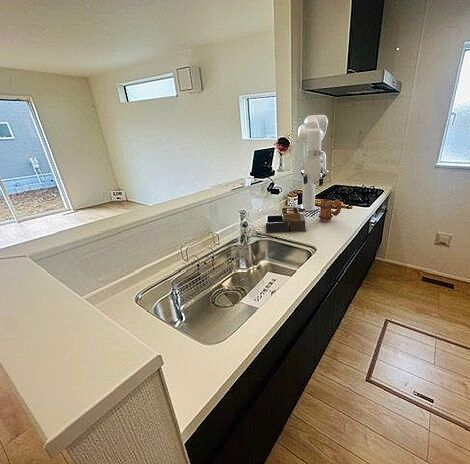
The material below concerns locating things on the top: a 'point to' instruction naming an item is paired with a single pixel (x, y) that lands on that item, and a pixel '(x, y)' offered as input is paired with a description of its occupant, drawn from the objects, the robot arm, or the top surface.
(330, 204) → the mug
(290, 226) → the stand
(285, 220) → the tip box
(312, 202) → the robot arm
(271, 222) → the basket
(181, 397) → the top surface
